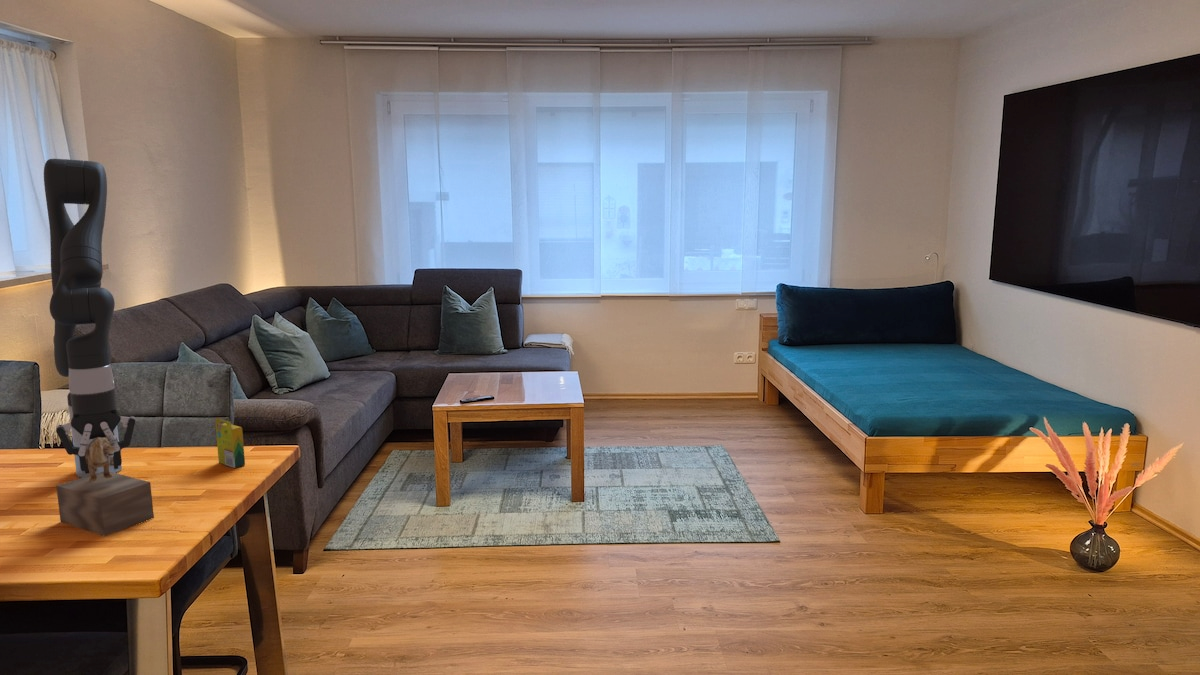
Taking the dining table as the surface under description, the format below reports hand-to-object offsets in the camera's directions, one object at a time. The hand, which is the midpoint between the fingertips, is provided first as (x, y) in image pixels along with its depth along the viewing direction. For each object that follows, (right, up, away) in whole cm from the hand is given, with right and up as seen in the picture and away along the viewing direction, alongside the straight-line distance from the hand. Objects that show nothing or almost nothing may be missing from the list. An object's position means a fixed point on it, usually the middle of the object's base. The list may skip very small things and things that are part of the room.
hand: (101, 469), depth 161 cm
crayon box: (+10, -5, +36) cm, 37 cm away
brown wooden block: (0, -11, +2) cm, 11 cm away
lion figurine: (0, -1, +1) cm, 2 cm away
